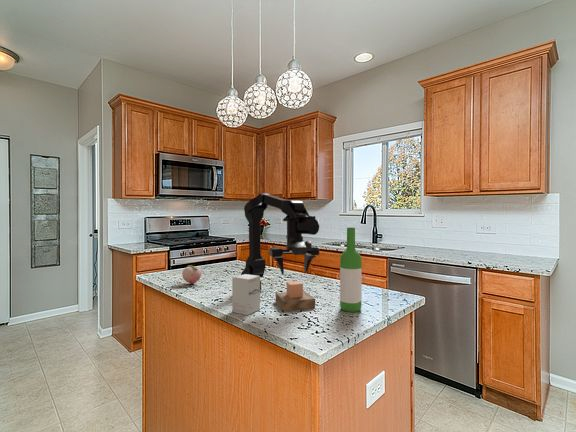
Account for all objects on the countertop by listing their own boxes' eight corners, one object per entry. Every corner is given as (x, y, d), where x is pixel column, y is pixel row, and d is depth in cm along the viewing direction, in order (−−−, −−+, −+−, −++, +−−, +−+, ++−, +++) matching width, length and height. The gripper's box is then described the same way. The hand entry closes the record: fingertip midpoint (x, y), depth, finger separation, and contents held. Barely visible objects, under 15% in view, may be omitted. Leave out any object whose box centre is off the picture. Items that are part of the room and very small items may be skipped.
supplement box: (247, 315, 110) (247, 279, 110) (231, 312, 114) (231, 276, 114) (260, 310, 116) (260, 275, 116) (244, 306, 120) (244, 273, 120)
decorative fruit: (178, 284, 155) (178, 264, 155) (191, 281, 162) (191, 262, 162) (191, 287, 150) (191, 266, 150) (204, 283, 157) (204, 263, 157)
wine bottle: (365, 309, 118) (365, 227, 117) (354, 314, 112) (354, 228, 111) (347, 304, 123) (347, 226, 122) (335, 309, 117) (336, 227, 116)
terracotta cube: (290, 298, 120) (290, 284, 119) (286, 294, 124) (286, 281, 124) (302, 297, 121) (302, 283, 121) (298, 293, 126) (298, 281, 126)
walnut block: (284, 312, 115) (284, 301, 115) (275, 303, 127) (275, 293, 127) (315, 309, 119) (315, 298, 119) (304, 300, 130) (304, 290, 130)
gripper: (275, 235, 112) (275, 279, 112) (325, 234, 117) (325, 276, 118) (268, 233, 123) (268, 273, 123) (314, 232, 128) (314, 271, 128)
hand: (294, 273), depth 123 cm, fingers open, 9 cm apart
